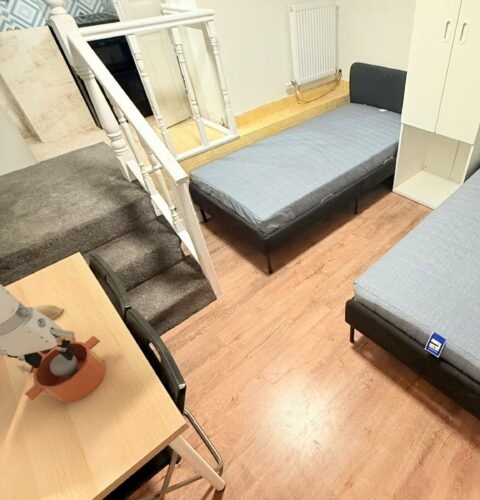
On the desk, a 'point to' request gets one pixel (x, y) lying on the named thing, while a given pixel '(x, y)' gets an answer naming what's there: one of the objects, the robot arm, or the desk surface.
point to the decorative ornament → (48, 310)
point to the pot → (66, 386)
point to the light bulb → (64, 366)
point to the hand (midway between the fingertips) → (55, 358)
